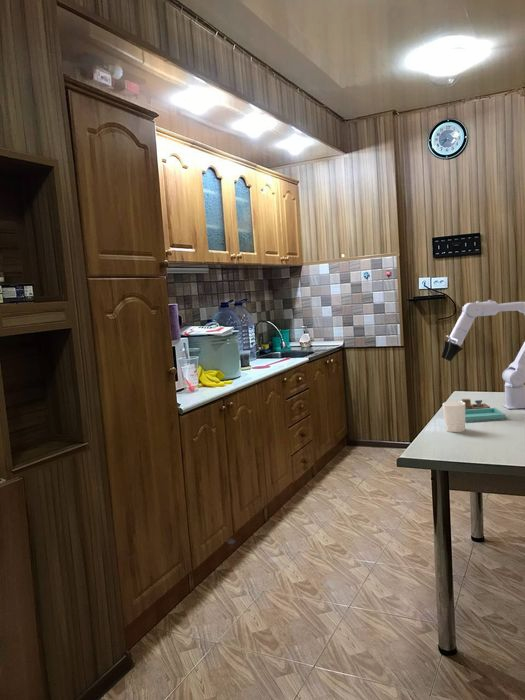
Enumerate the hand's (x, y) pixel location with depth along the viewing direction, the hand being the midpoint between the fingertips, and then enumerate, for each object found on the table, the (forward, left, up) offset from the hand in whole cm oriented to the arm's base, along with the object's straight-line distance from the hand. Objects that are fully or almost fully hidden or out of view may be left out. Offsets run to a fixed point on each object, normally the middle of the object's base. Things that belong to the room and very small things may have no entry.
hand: (445, 359), depth 229 cm
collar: (-11, +1, -22) cm, 25 cm away
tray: (-9, +12, -22) cm, 27 cm away
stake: (-12, +1, -22) cm, 25 cm away
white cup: (+4, +29, -23) cm, 37 cm away
